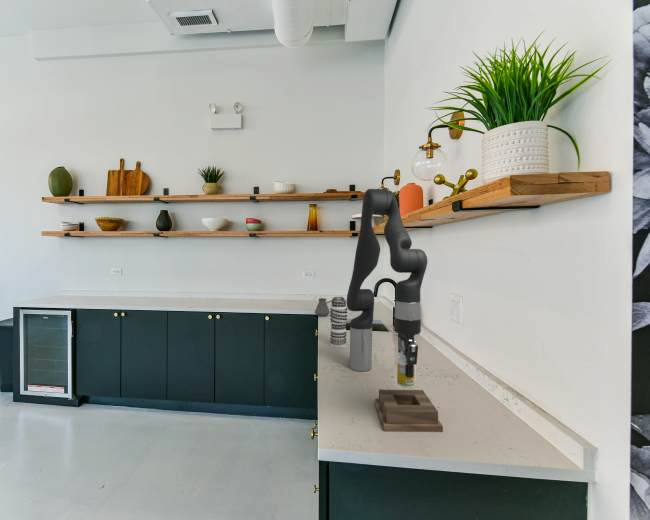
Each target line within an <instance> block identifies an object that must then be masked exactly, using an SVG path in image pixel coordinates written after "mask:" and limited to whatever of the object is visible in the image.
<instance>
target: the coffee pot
mask: <svg viewBox="0 0 650 520" xmlns="http://www.w3.org/2000/svg"><path fill="white" fill-rule="evenodd" d="M317 300H318V304H317V305H316V308H315V311H314V314H315V315H317V317H327V316H329V315H330V311H331V310H330V308H329V307H328V304H329V303H332V301H331V300H329V301H327V298H324V297H323V298H320V297H319V298H318V299H317Z"/></svg>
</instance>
